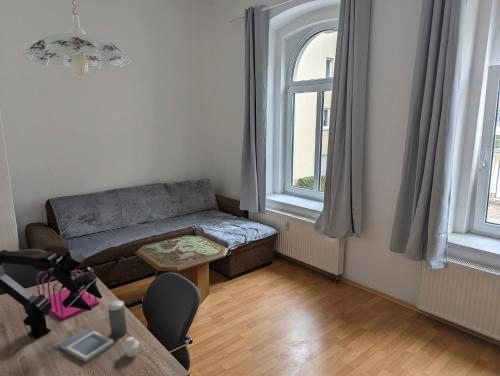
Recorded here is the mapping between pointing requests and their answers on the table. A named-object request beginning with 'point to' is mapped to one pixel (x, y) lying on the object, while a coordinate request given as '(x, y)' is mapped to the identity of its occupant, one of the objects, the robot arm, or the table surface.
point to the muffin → (130, 346)
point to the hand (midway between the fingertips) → (96, 303)
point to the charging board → (86, 345)
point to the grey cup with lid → (117, 319)
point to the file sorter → (59, 297)
